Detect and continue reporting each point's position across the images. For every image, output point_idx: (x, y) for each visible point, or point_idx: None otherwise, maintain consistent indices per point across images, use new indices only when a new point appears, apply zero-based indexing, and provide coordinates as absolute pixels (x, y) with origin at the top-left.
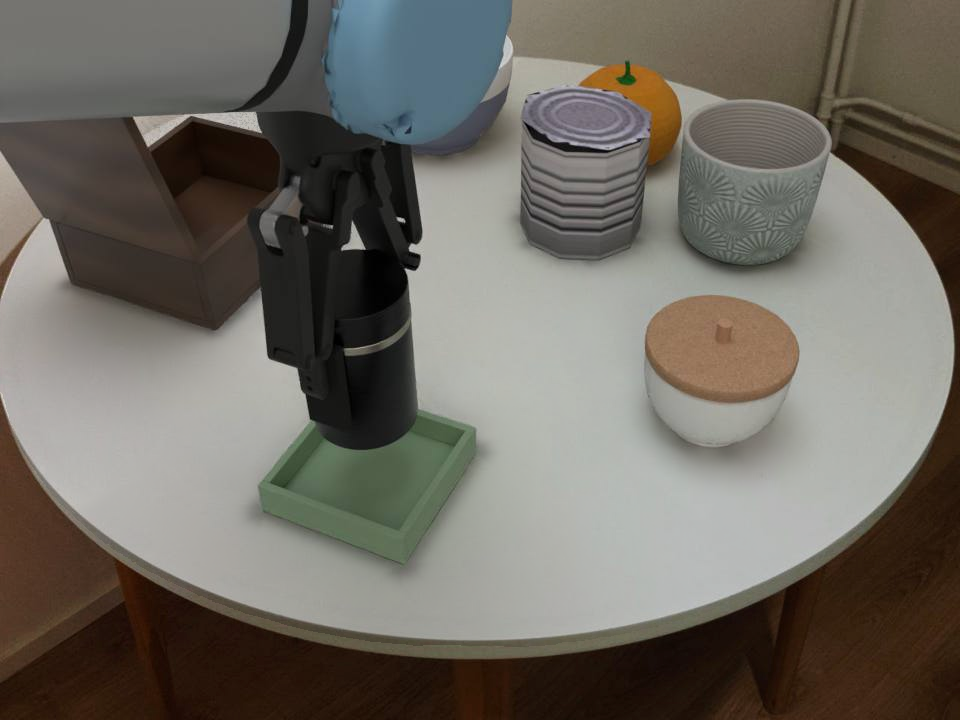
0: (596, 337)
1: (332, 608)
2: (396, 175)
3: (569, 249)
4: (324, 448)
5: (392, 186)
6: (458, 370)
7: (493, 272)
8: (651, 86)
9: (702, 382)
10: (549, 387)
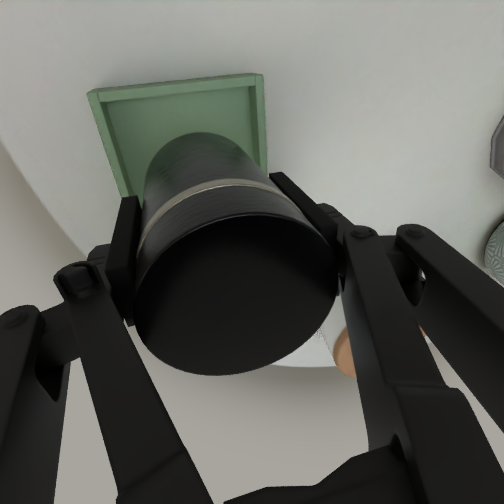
0: (401, 212)
1: (67, 216)
2: (492, 399)
3: (500, 147)
4: (192, 98)
5: (470, 355)
6: (339, 142)
7: (471, 90)
8: None
9: (342, 357)
10: (343, 213)
